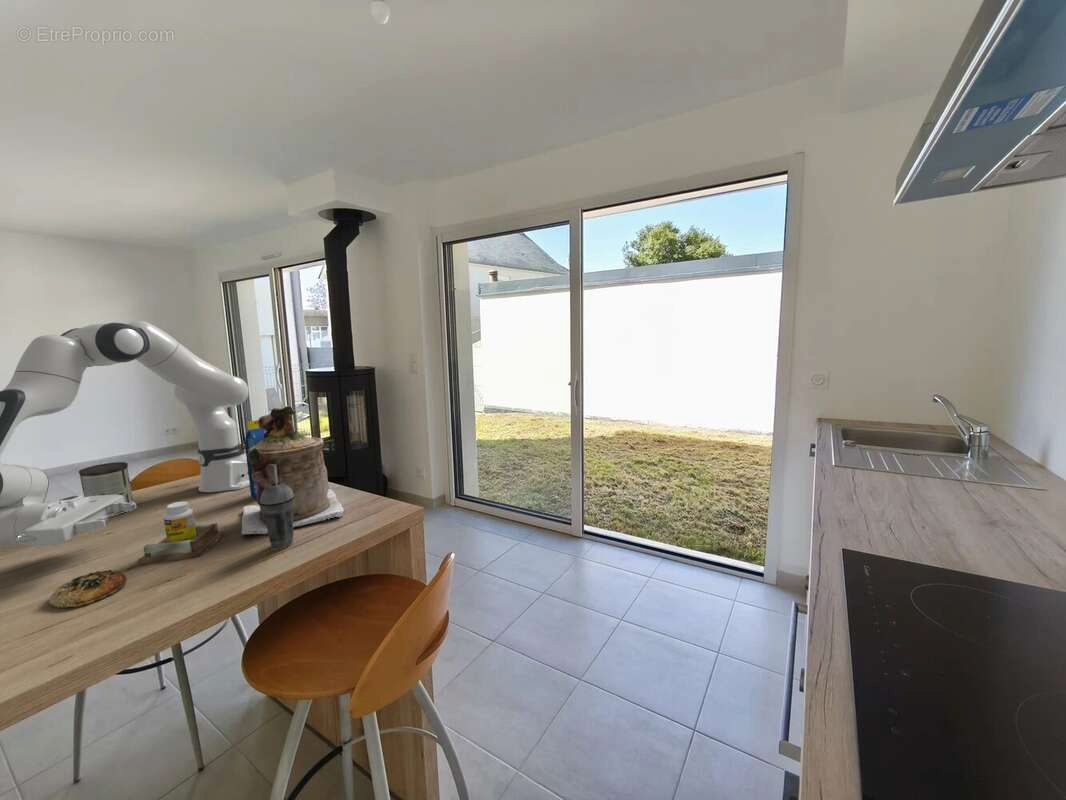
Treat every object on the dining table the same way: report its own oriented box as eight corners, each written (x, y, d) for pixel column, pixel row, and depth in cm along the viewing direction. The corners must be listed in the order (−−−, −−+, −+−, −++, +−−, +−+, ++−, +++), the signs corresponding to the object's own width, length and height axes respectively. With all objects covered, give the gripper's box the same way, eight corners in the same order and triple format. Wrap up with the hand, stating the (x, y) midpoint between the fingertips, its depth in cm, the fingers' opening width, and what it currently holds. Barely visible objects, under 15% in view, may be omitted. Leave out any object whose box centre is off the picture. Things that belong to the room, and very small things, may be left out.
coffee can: (80, 516, 127) (72, 469, 125) (125, 503, 136) (118, 460, 134) (96, 522, 122) (87, 474, 120) (141, 508, 131) (134, 464, 129)
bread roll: (138, 573, 93) (132, 553, 92) (111, 609, 83) (103, 587, 82) (73, 586, 90) (65, 565, 88) (35, 625, 80) (26, 602, 78)
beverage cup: (260, 554, 100) (250, 471, 98) (270, 540, 107) (261, 463, 105) (295, 549, 102) (286, 468, 100) (302, 536, 109) (294, 460, 107)
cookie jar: (333, 493, 141) (324, 396, 137) (346, 518, 120) (336, 405, 116) (243, 510, 128) (230, 404, 124) (240, 542, 107) (224, 416, 103)
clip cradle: (139, 563, 97) (136, 549, 97) (170, 540, 109) (168, 527, 109) (199, 556, 100) (197, 542, 100) (223, 534, 112) (222, 521, 111)
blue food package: (298, 488, 147) (290, 416, 143) (262, 500, 136) (253, 422, 132) (286, 485, 149) (279, 414, 146) (250, 497, 139) (241, 421, 135)
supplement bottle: (161, 550, 101) (155, 509, 100) (180, 539, 107) (174, 500, 106) (186, 549, 102) (180, 508, 100) (203, 538, 107) (197, 499, 106)
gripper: (1, 528, 87) (84, 520, 90) (80, 492, 107) (145, 486, 110) (8, 557, 88) (89, 548, 91) (85, 516, 108) (150, 510, 111)
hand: (120, 514), depth 101 cm, fingers open, 8 cm apart
